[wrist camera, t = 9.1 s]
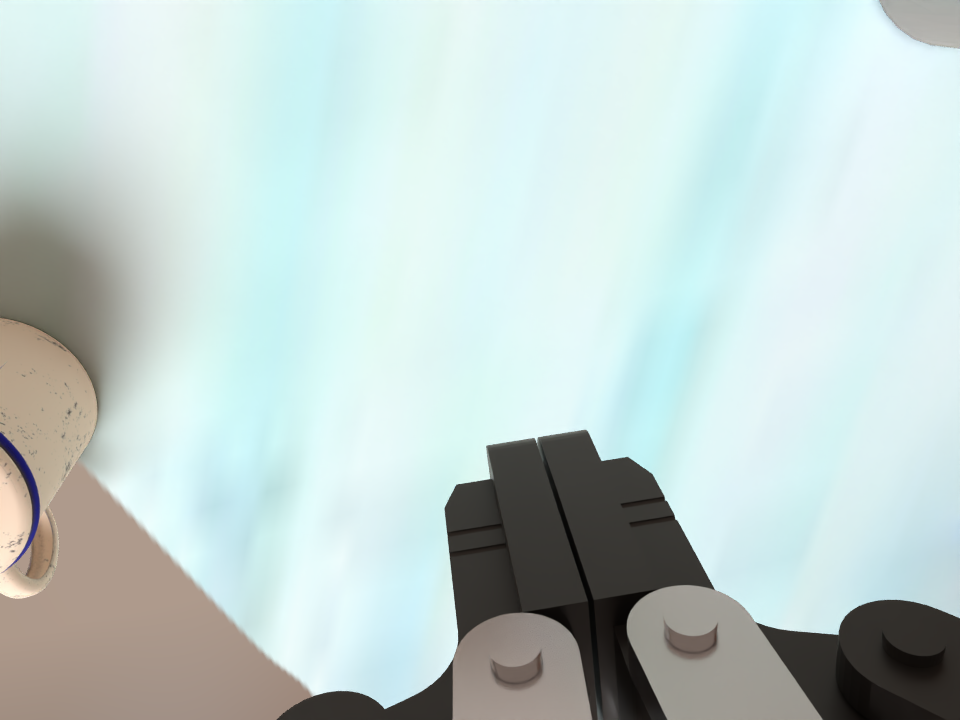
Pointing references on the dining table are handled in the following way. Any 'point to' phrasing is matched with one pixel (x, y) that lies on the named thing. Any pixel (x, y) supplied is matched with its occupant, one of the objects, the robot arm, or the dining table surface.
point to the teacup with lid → (37, 447)
